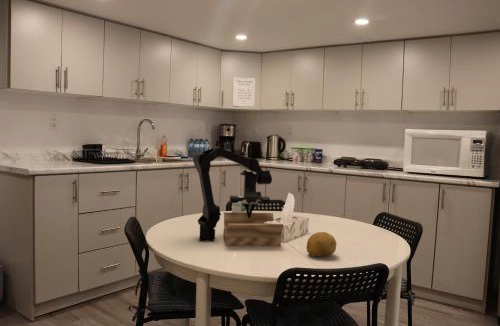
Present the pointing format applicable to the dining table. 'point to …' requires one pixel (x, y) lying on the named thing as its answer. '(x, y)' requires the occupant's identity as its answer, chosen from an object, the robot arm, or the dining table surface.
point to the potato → (321, 244)
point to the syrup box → (238, 207)
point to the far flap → (246, 218)
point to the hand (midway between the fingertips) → (248, 217)
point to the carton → (251, 241)
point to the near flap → (254, 230)
